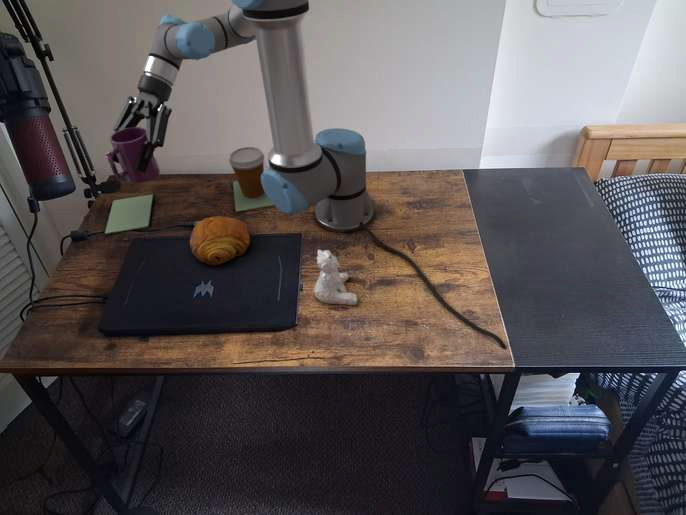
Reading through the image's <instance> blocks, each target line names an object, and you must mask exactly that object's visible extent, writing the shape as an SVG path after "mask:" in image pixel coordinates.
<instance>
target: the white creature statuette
mask: <svg viewBox="0 0 686 515" xmlns="http://www.w3.org/2000/svg"><path fill="white" fill-rule="evenodd" d="M331 252H332V251H330V250H329V249H327V250H326V249H324V250H321V249H317V256H316V257H315V259H316V260H317V262H316V265H317V266H318V269H319V270H320V272H319V273H318V274H319V276H318V278H317V280H316V282H315V285H314V286H313V293H314V296H315V298H316V299H318V300H319V301H320V302H322V303H324V304H329V305H330V304H335V305H346V306H347V305H348V306H355V305H356V306H357V304H358V295H357V294H355V293H352V292H350V291H347V288H346V286H345V284H344V283H345V282H347V280H349V274H348V273H347V272H346V271H345V272H340V271H339V270H338V268H339V267H340V263H339V261H338V257H337V256H334V255H333V254H332V253H331Z"/></svg>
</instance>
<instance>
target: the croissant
mask: <svg viewBox="0 0 686 515" xmlns="http://www.w3.org/2000/svg"><path fill="white" fill-rule="evenodd" d="M250 233H251V232H250V230H249V226H248V225H247V224H246V223H245V222H243V221H241V220H239V219H236V218H234V217H229V216H223V215H216V216H211V217H206V218H204V219H203V220H200V221H198V222H197V223H195V226H194V227H193V228H192V231H191V235H190V239H189V247H190V249H191V253H192V254H193V256H195V257H196V258H197V260H199V261H200V262H201V263H204V264H207V265H210V266H218V265H221V264H224V263H226V262H228V261H231V260H232V259H234V258H235V257H239V256H242V255H243V254H245V252H246V251H247V250H248V248H249V246H250V243H251V234H250Z"/></svg>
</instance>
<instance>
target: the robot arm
mask: <svg viewBox="0 0 686 515" xmlns="http://www.w3.org/2000/svg"><path fill="white" fill-rule="evenodd" d="M230 1H231V2H232V3H233V6H232V7H230V9H228V10H227V11H226V12H224V13H222V14H218V15H214V16H210V17H207V18H202V19H198V20H194V21H190V22H186V21H185V20H183V19H182V18H180V17H178V16H175V15H171V14H164V15H163V16H162V17H161V19H160V22H159V24H158V25H157V27H156V32H155V35H154V38H153V41H152V44H151V47H150V50H149V53H148V55H147V58H146V60H145V63H144V66H143V68H142V73H143V74H141V75H140V78H139V81H138V84H137V86H136V87H137V90H138V91H139V92H138V95H137V96H136V97H133V96H131V95H128V96H127V98H126V102H125V104H124V107H123V109H122V110H121V112H120V114H119V117H118V118H117V121H116V122H115V125H114V126H113V128H112V131H113V132H114V133H115V132H117V131H119V130H122V129H125V128H131V127H138V125H139V123H140V122H141V121H142V120H146V128H145V130H146V141H145V142H144V144H143V146H142V149H141V151H140V154H139V157H138V160H137V163H136V165H135V168H134V169H136V170H138V171H141V172H144V173H145V172H146V169H147V166H148V164H149V161H150V160H151V158H152V156H153V153H155V150H156V149H157V148H163V147H164V144H165V140H166V134H167V129H168V123H169V119H170V116H171V114H172V112H173V110H172V108H170V107H169V106H167V105H165V103H166V102H167V103H168V102H169V100H170V97H171V96H172V95H171V94H172V91H173V89H172V87H173V86H174V85H175V83H176V79H177V77H178V73H179V71H180V68H181V66H182V63H183V60H184V61H185V60H195V61H199V60H202V59H206V58H208V57H209V56H211V55H212V54H216V53H219V52H222V51H225V50H228V49H231V48H234V47H238V46H241V45H247V44H249V43H251V42H253V41H256V47H257V53H258V58H259V66H260V72H261V78H262V85H263V90H264V96H265V102H266V107H267V108H266V109H267V114H268V120H269V126H270V133H271V140H272V145H273V146H272V148H271V149H270V150H269V151H268V154H267V159H268V164H269V168H266V169H264V172H263V174H262V175H261V183H262V187H263V189H264V191H265V193H266V195H267V197H268V198H269V200H270V201H271V202H272V203H273V204H274V206H273V207H275V208H276V209H277V210H278V211H280V212H281V213H283V214H285V215H287V216H297V215H299V214H300V213H302V212H306V211H308V210H309V209H310V208H311V207H315V210H314V213H315V220H316V222H317V224H318V225H319V226H320V227H321V228H323V229H325V230H327V231H330V232H334V233H341V234H342V233H352V232H356V231H359V230H365V231H366V233H368V235H370V237H371V238H372V239H373V241H374V242H375V243H377V244H378V245H379V246H380V247H381V248H383V249H385V250H387V251H389V252H391V253H393V254H396V255H398V256H400V257H402V258H403V259H404V260H405V261H407V262H408V263H409V264H410V266H412V267H413V269H414V270H415V271H416V273H417V274H418V276H419V277H420V278H421V279H422V280H423V282H424V283H425V284H426V286H427V287H428V288H429V289H430V292H431V293H432V294H433V296H434V297H435V298H436V299H437V300H438V301H439V303H441V304H442V306H444V307H445V308H446V309H447V310H448V311H449V312H450V313H451V314H453V315H454V316H455V317H456V318H458V319H459V320H461V322H462V323H465V324H466V325H468V326H469V327H470V328H472V329H473V330H475V331H477V332H478V333H480V334H483V335H486V336H488V337H490V338H492V339H494V340H495V341H496V342H497V343H498V344H499V346H500V347H501V349H503V350H507V346H506V344H505V342H504V341H503V340H502V338H501V337H499V336H498V335H497V334H495V333H493V332H491V331H489V330H486V329H484V328H482V327H480V326H478V325H477V324H475V323H474V322H472V321H471V320H469V319H467V318H466V317H465V316H463V315H462V314H460V313H459V312H458V311H457V310H456V309H455V308H453V307H452V306H450V304H449V303H448V302H447V301H446V300H444V299H443V297H442V296H441V295H440V294H439V292H437V290H436V289H435V288H434V285H433V284H432V283H431V282H430V281H429V279H428V278H427V277H426V275H425V274H424V273H423V272H422V270H421V269H420V267H419V266H418V265H417V264H416V262H414V261H413V259H411V258H410V257H409V256H408V255H406V254H405V253H403V252H401V251H399V250H397V249H395V248H392V247H391V246H388V245H387V244H386V243H384V242H382V241H381V240H380V239H379V238H378V237H377V236H376V234H375V233H373V231H372V230H370V228H369V227H368V225H369V224H370V223H371V222H372V221H373V219H374V206H373V203H372V201H371V200H372V199H371V198H370V195H369V193H368V190H367V150H366V141H365V138H364V137H363V136H362V134H360V132H357V131H355V130H352V129H347V128H339V127H338V128H337V127H335V128H334V127H333V128H327V129H323V130H320V131H318V132H317V133H316V135H315V139H314V129H313V120H312V110H311V109H312V108H311V99H310V90H309V79H308V71H307V70H308V69H307V60H306V50H305V41H304V40H305V39H304V29H303V20H304V19H305V18H306V16H307V15H308V14H309V12H310V2H309V0H230ZM145 144H147V145H145ZM112 158H113V161H114V163H115V164H119V161H118V159H117V156H116V154H115V155H113V156H112ZM486 442H487V441H486ZM486 442H483V444H484V445H486V444H485V443H486Z"/></svg>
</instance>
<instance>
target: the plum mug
mask: <svg viewBox="0 0 686 515" xmlns="http://www.w3.org/2000/svg"><path fill="white" fill-rule="evenodd" d="M145 141H146V128H144V127H140V126H136V127H131V128H125V129H122V130H119V131H117V132H114V133H112V134H111V135H110V136H109V143H110V145H111V147H112V150H110V151H108V152H106V153H105V157H106V160H107V162H108V164H109V166H110V168H111V169H110V170H111V171H112V173H113V175H114V178H115V179H116V180H120V179H122V178H125V180H126V181H127V182H128V183H131V184H141V183H146V182H149V181H152V180H154V179H156V178H157V177H158V176H159V175H160V174H161V168H160V165H159V162H158V158H157V156H156V153H155V152H154V153H153V156H152V158H151V160H150V161H149V164H148V166H147V169H146V172H145V173H144V172H141V171H138V170H136V169H134V168H135V165H136V163H137V160H138V157H139V154H140V151H141V149H142V146H143V144H144V142H145ZM145 145H147V144H145ZM115 154H116V156H117V159H118V161H119V163H118V164H119V166H120V169H121V171H120V172H119V171H118V168H117V165H116V162H114V161H113V158H112V156H113V155H115Z"/></svg>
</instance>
